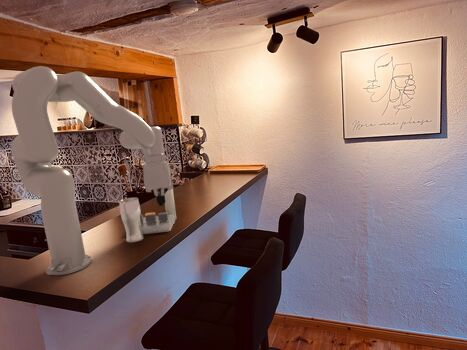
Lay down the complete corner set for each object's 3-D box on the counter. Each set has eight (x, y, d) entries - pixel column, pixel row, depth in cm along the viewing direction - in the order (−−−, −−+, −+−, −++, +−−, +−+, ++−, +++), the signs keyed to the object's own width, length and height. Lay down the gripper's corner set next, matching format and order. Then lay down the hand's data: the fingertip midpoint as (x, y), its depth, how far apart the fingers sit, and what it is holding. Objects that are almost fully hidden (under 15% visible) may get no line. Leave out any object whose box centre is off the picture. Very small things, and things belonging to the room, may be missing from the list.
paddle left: (142, 222, 133) (141, 216, 133) (133, 223, 133) (132, 217, 133) (143, 220, 135) (142, 214, 135) (134, 221, 135) (133, 215, 135)
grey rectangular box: (167, 219, 133) (166, 213, 133) (158, 220, 133) (157, 214, 133) (168, 218, 135) (167, 212, 135) (159, 219, 135) (158, 213, 135)
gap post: (175, 220, 143) (170, 178, 140) (166, 220, 143) (160, 179, 140) (177, 217, 147) (171, 176, 144) (168, 218, 147) (162, 177, 144)
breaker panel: (169, 231, 129) (168, 223, 129) (128, 235, 129) (127, 227, 129) (175, 221, 141) (174, 214, 140) (136, 225, 141) (135, 217, 141)
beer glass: (138, 234, 129) (132, 196, 127) (148, 238, 124) (142, 198, 122) (121, 240, 125) (115, 201, 122) (130, 244, 120) (124, 203, 117)
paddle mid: (155, 221, 133) (154, 213, 133) (146, 221, 133) (144, 214, 133) (156, 219, 135) (155, 212, 135) (147, 220, 135) (146, 213, 135)
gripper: (133, 162, 127) (140, 209, 130) (172, 158, 126) (179, 205, 130) (138, 159, 134) (145, 204, 137) (176, 155, 134) (182, 200, 137)
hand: (161, 204), depth 134 cm, fingers closed
